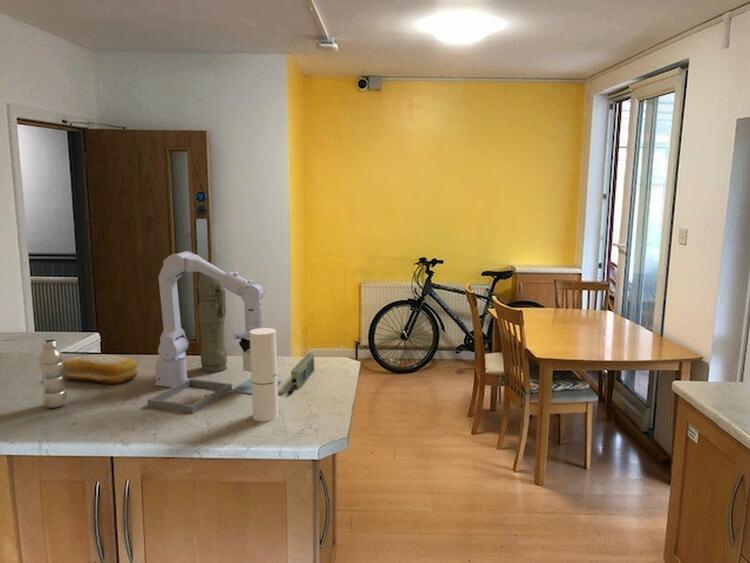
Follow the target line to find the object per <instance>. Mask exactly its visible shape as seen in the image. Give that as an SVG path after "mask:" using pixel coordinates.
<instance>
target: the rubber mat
mask: <svg viewBox="0 0 750 563" xmlns="http://www.w3.org/2000/svg"><path fill="white" fill-rule="evenodd" d="M281 383H282V380H279V379H277V386H278V385H279V384H281ZM230 392H231V393H236V394H237V393H238V394H244V395H251V396H252V381H251V377H250V378H249V379H247V380H245V381H244V382H242V383H240V384H239V385H236V386H235V387H234V388H232V390H231V391H230Z"/></svg>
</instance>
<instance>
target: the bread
mask: <svg viewBox="0 0 750 563" xmlns="http://www.w3.org/2000/svg"><path fill="white" fill-rule="evenodd" d="M138 372H139V371H138V363H137V361H136V360H134V359H131V358H128V357H125V356H120V355H112V354H94V353H93V354H88V355H81V356H80V355H79V356H75V357H70V358H68V359H67V360H65V361H64V360H63V377H64V378H65V379H68V380H73V381H83V382H88V383H93V384H103V385H104V384H105V385H117V384H120V383H124V382H128V381H131V380H134V378H135V377H136V376H137V375H138Z"/></svg>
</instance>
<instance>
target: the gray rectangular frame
mask: <svg viewBox="0 0 750 563" xmlns="http://www.w3.org/2000/svg"><path fill="white" fill-rule="evenodd" d="M190 387H198V388H199V387H200V388H207V389H213V390H215V391H214V392H211V393H210V394H208V395H207V396H204V397H203V398H201V399H200V400H198V401H195V402H194V403H192V404H187V403H180V402H176V401H175V402H174V401H167V400H166V399H167V398H171V397H172V396H174V395H176V394H179V393H180V392H182V391H184V390H185V389H187V388H190ZM232 389H233V384H232V383H227V382H220V381H212V380H203V379H198V378H192V377H191V378H188V380H186V381H184V382H182V383H180V384H178V385H176V386H174V387H169V388H168V389H166V390H165V391H162V392H160V393H158V394H156V395H154V396H152V397H151V398H148V399H147V407H151V408H158V409H164V410H170V411H175V412H183V413H184V412H185V413H190V414H194V413H195V412H197V411H200V410H201V409H202V408H204V407H206V406H208V405H209V404H211V403H213V402H214V401H217V400H218V399H219V398H221V397H223V396H224V395H226V394H228V393H229V392H231V390H232Z"/></svg>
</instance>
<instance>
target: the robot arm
mask: <svg viewBox="0 0 750 563" xmlns="http://www.w3.org/2000/svg"><path fill="white" fill-rule="evenodd" d="M162 262H163V263H162V264H163V266H162V268H161V269H160V272H159V274H158V285H159V295H160V296H159V297H160V305H161V316H162V326H163V328H162V329H163V330H162V332H161V334H160V337H159V341H160V342H159V344H158V348H157V351H158V355H159V357H158V358H157V359H156V362H155V367H154V368H155V383H154V385H155V386H158V387H159V386H160V387H166V388H172V387H174V386H176V385H178V384H180V383H182V382H184V381H186V380H188V379H189V378H188V373H187V372H188V371H187V370H188V369H187V355H186V354H187V353H186V351H187V350H188V349H189V344H190V343H189V339H188V338H187V336H186V332H185V330H184V329H183V328H182V324H181V323H182V322H181V313H180V311H181V310H180V303H179V292H178V291H179V290H178V280H179V279H180V278H182V276H184V274H186V273H193V272H194V273H195V272H199V273H200V274H202V273H203V274H205V275H207V276H209V277H211V278H214V279H216V280H218V281H220V282H221V287H223V288H224V290H227V291H229V292H230V293H233V294H235V295H237V296H238V297H240V298H241V301H242V302H244V325H245V326H244V328H245V329H244V330H245V331H243V332H242V331H236V332H234V333H233V340H240V341H239V342H238V345H239V347H240V348H241V349H242V353H243V352H245V351H247V350H249V349H250V331H251V330H253V329H258V328H264V307H263V305H264V304H263V297H264V296H265V293H266V292H265V288H264V287H263V285H262V284H260V282H255V281H254V282H253V281H252V280H251V279H246V278H244V277H242V276H241V275H240V273H239V272H237V271H234V272H233V271H229V272H226V271H223V270H222V269H221V268H219V267H218V266H216V265H214V264H212V263H210V262H209V261H207V260H205V258H202V257H201V256H200V255H198V254H195V253H193V252H192V251H189V250H186V251H185V250H184V251H182V252H179V253H173V254H170V255H169V256H168V257H166V258H165V259H164V260H163V261H162Z"/></svg>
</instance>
